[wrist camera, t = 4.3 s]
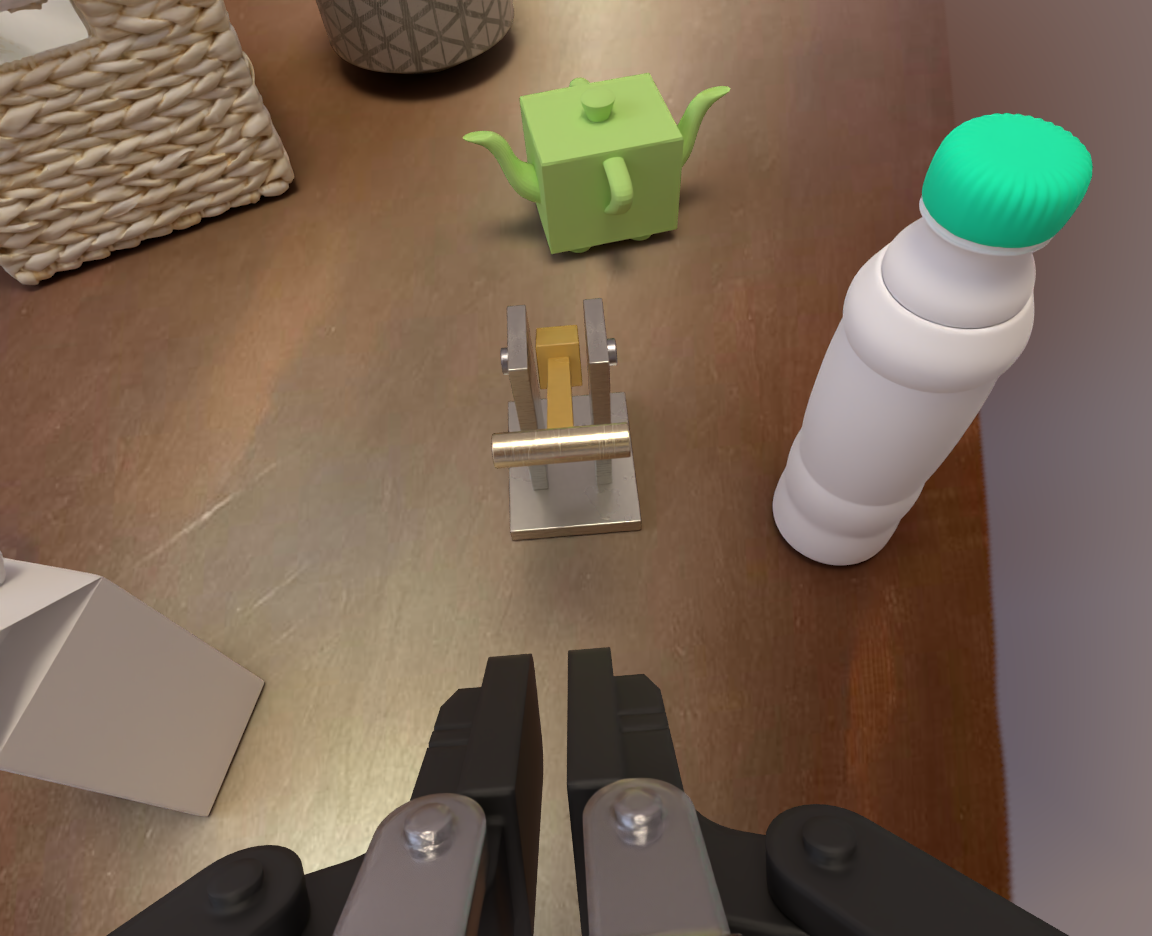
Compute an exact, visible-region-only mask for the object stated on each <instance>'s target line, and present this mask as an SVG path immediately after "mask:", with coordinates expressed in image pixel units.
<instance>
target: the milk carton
mask: <svg viewBox="0 0 1152 936" xmlns="http://www.w3.org/2000/svg"><path fill="white" fill-rule="evenodd" d="M263 685H264V681H263V680H262V679H261V678H259V677H257V676H256V675H254V674H253V673H251V672H250V671H248V670H247V669H245V668H244V667H242V666H241V665H239V664H238V663H236V662H234V661H233V660H231V659H230V658H228V657H227V656H225V655H224V654H222V653H221V652H219V651H218V650H216V649H214V648H213V647H211V646H210V645H208V644H207V643H205V642H204V641H202V640H201V639H199V638H198V637H196V636H194V635H193V634H191V633H190V632H188V631H187V630H185V629H184V628H182V627H181V626H179V625H178V624H176V623H174V622H173V621H171V620H170V619H168V618H167V617H165V616H164V615H162V614H161V613H159V612H158V611H156V610H154V609H153V608H151V607H150V606H148V605H147V604H145V603H144V602H142V601H141V600H139V599H138V598H136V597H134V596H133V595H131V594H130V593H128V592H127V591H125V590H124V589H122V588H121V587H119V586H117V585H116V584H114V583H113V582H111V581H109V580H108V579H106V578H104V577H102V576H99V575H95V574H90V573H85V572H80V571H74V570H69V569H63V568H58V567H52V566H46V565H41V564H35V563H30V562H24V561H18V560H13V559H7V558H3V556H2V553H1V551H0V770H3V771H8V772H12V773H16V774H20V775H25V776H29V777H33V778H38V779H42V780H46V781H50V782H55V783H59V784H63V785H68V786H72V787H76V788H81V789H85V790H89V791H93V792H98V793H102V794H106V795H111V796H115V797H119V798H124V799H128V800H132V801H137V802H141V803H145V804H150V805H154V806H158V807H163V808H167V809H171V810H176V811H180V812H184V813H189V814H193V815H198V816H204V817H207V816H208V815H209V813H210V810H211V808H212V806H213V803H214V801H215V799H216V796H217V794H218V791H219V789H220V787H221V784H222V782H223V780H224V777H225V775H226V772H227V770H228V768H229V765H230V763H231V761H232V758H233V756H234V754H235V751H236V749H237V746H238V744H239V742H240V739H241V737H242V735H243V732H244V730H245V727H246V725H247V723H248V720H249V718H250V716H251V713H252V711H253V708H254V706H255V704H256V701H257V699H258V697H259V694H260V692H261V689H262V687H263Z"/></svg>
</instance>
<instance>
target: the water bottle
mask: <svg viewBox="0 0 1152 936" xmlns="http://www.w3.org/2000/svg"><path fill="white" fill-rule="evenodd" d="M1092 168H1093V166H1092V161H1091V155H1090V153H1089V152H1088V151H1087V150H1086V147H1085V146H1084V145H1083V144H1082V143H1080V140H1079V139H1078V138H1077V137H1074V136H1072V133H1071V132H1069V131H1065V130H1063V128H1062V127H1060V126H1054V124H1053V123H1052V122H1045V121H1044V120H1042V119H1041V118H1036V119H1035V118H1033V117H1032V116H1023V115H1021V114H1015V115H1012V114H1010V113H1004V114H998V113H995V114H992V115H984V116H981V117H977V118H973V119H971V120H970V121H966V122H964V123H962V124H961V125H960V126H958V127H956V128H955V129H953V130H952V131H951V132H950V134H949V135H947V136H946V137H945V139H944V140H943V142H942V143H941V145H940V146H939V148H938V150H937V152H936V153H935V155H934V157H933V159H932V162H931V164H930V167H929V169H928V171H927V174H926V177H925V180H924V183H923V188H922V196H921V199H920V202H919V207H920V212H921V214H922V218H920V219H919V220H917V221H915V222H914V223H912V224H910V225H909V226H907V227H906V228H905V229H904V230H902V231H901V232H900V233H899V234H898V235H897V236H896V237H895V238H894V240H893V241H892V242H891V243H889V244H888V245H887V246H885V247H884V248H883V249H882V250H880V251H879V252H878V253H876V254H875V255H874V256H873V257H872V258H871V259H869V260H868V261H867V262H866V263H865V264H864V266H863V267H862V268H861V269H860V270H859V272H858V273H857V274H856V276H855V277H854V279H853V281H852V283H851V285H850V287H849V289H848V292H847V294H846V298H845V302H844V307H843V318H842V320H841V322H840V324H839V326H838V328H837V330H836V332H835V334H834V336H833V338H832V340H831V343H830V345H829V347H828V350H827V352H826V355H825V357H824V360H823V362H822V365H821V367H820V370H819V373H818V375H817V378H816V381H815V384H814V387H813V390H812V392H811V396H810V399H809V402H808V405H807V409H806V412H805V416H804V420H803V424H802V428H801V430H800V431H799V433H798V434H797V436H796V438H795V440H794V442H793V445H792V447H791V450H790V453H789V456H788V461H787V466H786V468H785V470H784V471H783V473H782V475H781V477H780V480H779V482H778V485H777V487H776V490H775V493H774V498H773V515H774V519H775V522H776V525H777V527H778V529H779V531H780V533H781V534H782V536H783V537H784V538H785V540H786V541H787V542H788V543H789V544H790V545H791V546H792V547H793V548H794V549H795V550H797V551H798V552H800V553H801V554H803V555H804V556H806V557H808V558H810V559H812V560H815V561H818V562H821V563H824V564H830V565H851V564H857V563H860V562H863V561H865V560H867V559H869V558H871V557H873V556H874V555H876V554H877V553H878V552H879V551H880V550H881V549H882V548H883V547H884V546H885V545H886V543H887V542H888V541H889V539H890V538H891V536H892V535H893V533H894V531H895V530H896V528H897V526H898V524H899V522H900V519H901V518H902V517H904V515H905V514H906V513H907V512H908V511H909V510H910V509H911V507H912V506H913V505H914V503H915V502H916V500H917V498H918V497H919V495H920V493H921V491H922V489H923V486H924V484H925V482H926V481H927V480H928V479H929V478H930V476H931V475H932V474H933V473H934V472H935V471H936V470H937V468H938V467H939V466H940V465H941V464H942V462H943V461H944V460H945V459H946V457H947V456H948V455H949V453H950V452H951V451H952V449H953V448H954V447H955V445H956V444H957V443H958V441H959V440H960V438H961V437H962V436H963V434H964V433H965V431H966V430H967V428H968V427H969V425H970V424H971V423H972V421H973V420H974V418H975V416H976V415H977V413H978V412H979V410H980V409H981V407H982V406H983V404H984V402H985V401H986V399H987V397H988V396H989V394H990V392H991V390H992V388H993V387H994V385H995V383H996V381H997V379H998V377H999V376H1000V375H1002V374H1003V373H1004V372H1005V371H1006V370H1007V369H1009V368H1010V366H1012V365H1013V363H1014V362H1015V361H1016V360H1017V358H1018V357H1019V356H1020V355H1021V353H1022V351H1023V350H1024V348H1025V346H1026V344H1027V342H1028V340H1029V337H1030V334H1031V331H1032V327H1033V319H1034V293H1033V287H1034V283H1035V276H1036V275H1035V273H1036V271H1035V263H1034V258H1033V254H1032V253H1033V252H1035V251H1037V250H1039V249H1041V248H1043V247H1044V246H1046V245H1047V244H1048V243H1049V242H1050V241H1051V239H1052V238H1053V237H1054V235H1055V234H1057V233H1058V232H1059V230H1061V228H1063V226H1064V225H1065V224H1066V223H1067V221H1068V220H1069V219H1070V218H1071V216H1072V215H1073V213H1074V212H1075V210H1076V209H1077V207H1078V206H1079V204H1080V203H1081V201H1082V199H1083V197H1084V195H1085V194H1086V192H1087V188H1088V186H1089V184H1090V180H1091V178H1092Z"/></svg>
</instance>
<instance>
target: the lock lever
mask: <svg viewBox="0 0 1152 936" xmlns="http://www.w3.org/2000/svg"><path fill="white" fill-rule="evenodd" d="M535 347H536V356H537V365H538V374H539V383H540V389H547V429H538V430H526V431H514V432H503V433H494V434H492V438H491V447H492V457H493V463H494V466H495V468H497V469H499V468H511V467H523V466H534V465H546V464H558V463H570V462H582V461H594V460H605V459H617V458H629V457H630V456H631V441H630V431H629V425H628V423H627V422H620V423H608V424H596V425H585V426H574V416H573V401H572V387H573V386H582V373H581V361H580V348H579V337H578V328H577V325H568V326H557V327H545V328H537V329H536V346H535Z"/></svg>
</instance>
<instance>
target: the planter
mask: <svg viewBox="0 0 1152 936" xmlns="http://www.w3.org/2000/svg"><path fill="white" fill-rule="evenodd" d="M316 2H317V5H318V8H319V11H320V14H321V17H322V20H323V23H324V26H325V29H326V32H327V35H328V38H329V41H330V44H331V46H332V48H333V49H334V51H335V52H336V53H337V54H338V55H339V56H340V57H341V58H343V59H344V60H345V61H347V62H349V63H351V64H353V65H355V66H358V67H361V68H364V69H368V70H372V71H378V72H386V73H403V74H427V73H434V72H438V71H442V70H446V69H449V68H451V67H454V66H456V65H458V64H460V63H462V62H464V61H467V60H469V59H472V58H474V57H476V56H478V55H480V54H482V53H483V52H485V51H487V50H488V49H490V48H491V47H493V46H494V45H495V44H496V43H498V42H499V41H500V40H501V39H502V38H503V37H504V36H505V34H506V33H507V32H508V30H509V29H510V27H511V25H512V22H513V18H514V8H513V0H316Z"/></svg>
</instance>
